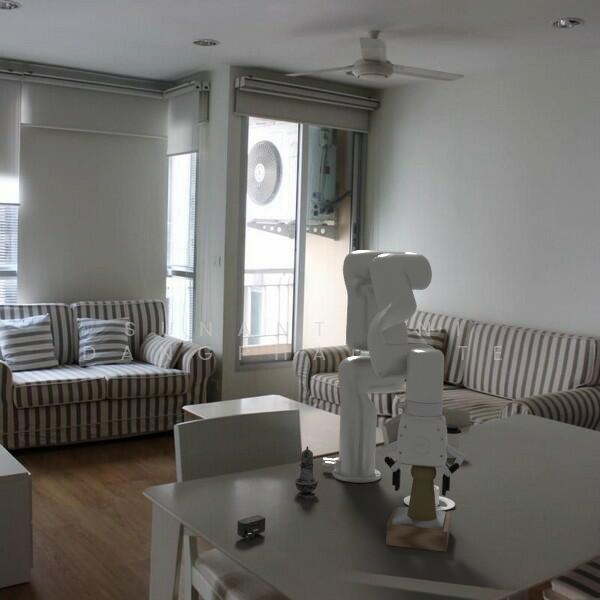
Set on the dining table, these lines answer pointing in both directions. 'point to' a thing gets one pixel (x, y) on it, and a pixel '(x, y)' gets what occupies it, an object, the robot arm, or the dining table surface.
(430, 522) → the wooden framed mirror
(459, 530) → the dining table surface
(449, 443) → the coffee cup
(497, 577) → the dining table surface
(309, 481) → the dark grey tiered figure
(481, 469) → the dining table surface
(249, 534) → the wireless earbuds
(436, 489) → the candle holder
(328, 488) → the dining table surface
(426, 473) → the cork
